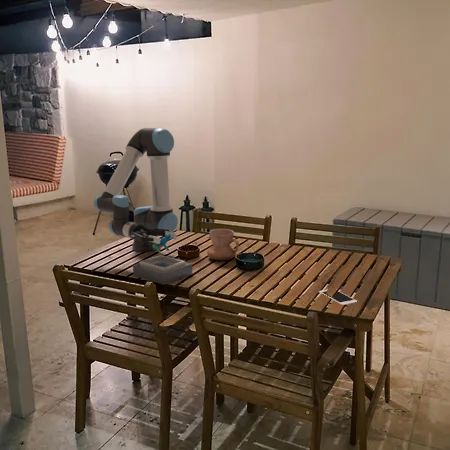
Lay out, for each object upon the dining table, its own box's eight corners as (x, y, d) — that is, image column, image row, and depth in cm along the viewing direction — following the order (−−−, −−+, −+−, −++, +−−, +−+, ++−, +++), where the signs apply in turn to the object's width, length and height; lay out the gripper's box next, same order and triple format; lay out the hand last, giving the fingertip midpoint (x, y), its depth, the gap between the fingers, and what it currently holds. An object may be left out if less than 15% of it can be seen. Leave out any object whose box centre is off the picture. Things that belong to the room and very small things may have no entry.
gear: (163, 242, 230) (173, 230, 224) (171, 252, 229) (180, 240, 223) (146, 251, 222) (155, 238, 216) (154, 261, 221) (163, 249, 215)
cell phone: (342, 306, 191) (342, 304, 191) (318, 292, 206) (318, 291, 206) (358, 302, 195) (358, 301, 194) (333, 289, 209) (333, 288, 209)
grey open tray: (162, 266, 240) (161, 253, 239) (192, 274, 228) (192, 260, 227) (133, 275, 227) (132, 261, 225) (163, 284, 215) (163, 270, 213)
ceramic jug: (199, 259, 250) (199, 232, 247) (214, 252, 263) (214, 226, 259) (231, 265, 242) (231, 237, 239) (244, 257, 254) (245, 230, 251)
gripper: (152, 234, 244) (185, 241, 230) (116, 243, 227) (149, 252, 213) (151, 219, 242) (184, 225, 228) (115, 227, 225) (148, 235, 212)
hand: (167, 238), depth 221 cm, fingers closed on gear, 9 cm apart
